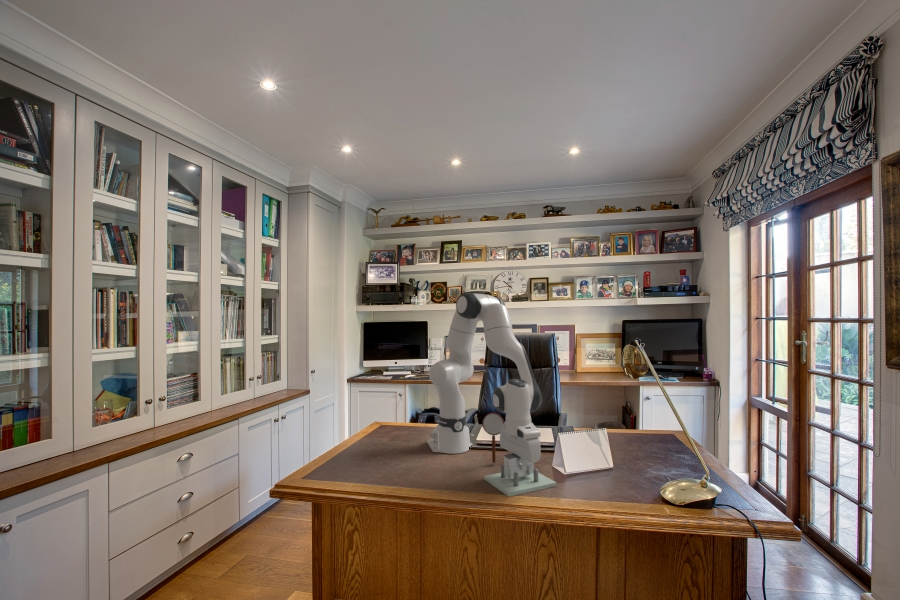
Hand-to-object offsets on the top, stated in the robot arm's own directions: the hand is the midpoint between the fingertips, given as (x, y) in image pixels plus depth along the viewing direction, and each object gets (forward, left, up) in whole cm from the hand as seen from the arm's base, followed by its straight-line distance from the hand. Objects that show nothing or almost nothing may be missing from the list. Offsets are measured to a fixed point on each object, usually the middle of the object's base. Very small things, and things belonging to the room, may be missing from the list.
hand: (519, 467), depth 145 cm
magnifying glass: (-19, +1, -5) cm, 20 cm away
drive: (0, 0, -2) cm, 2 cm away
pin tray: (0, 0, -5) cm, 5 cm away
